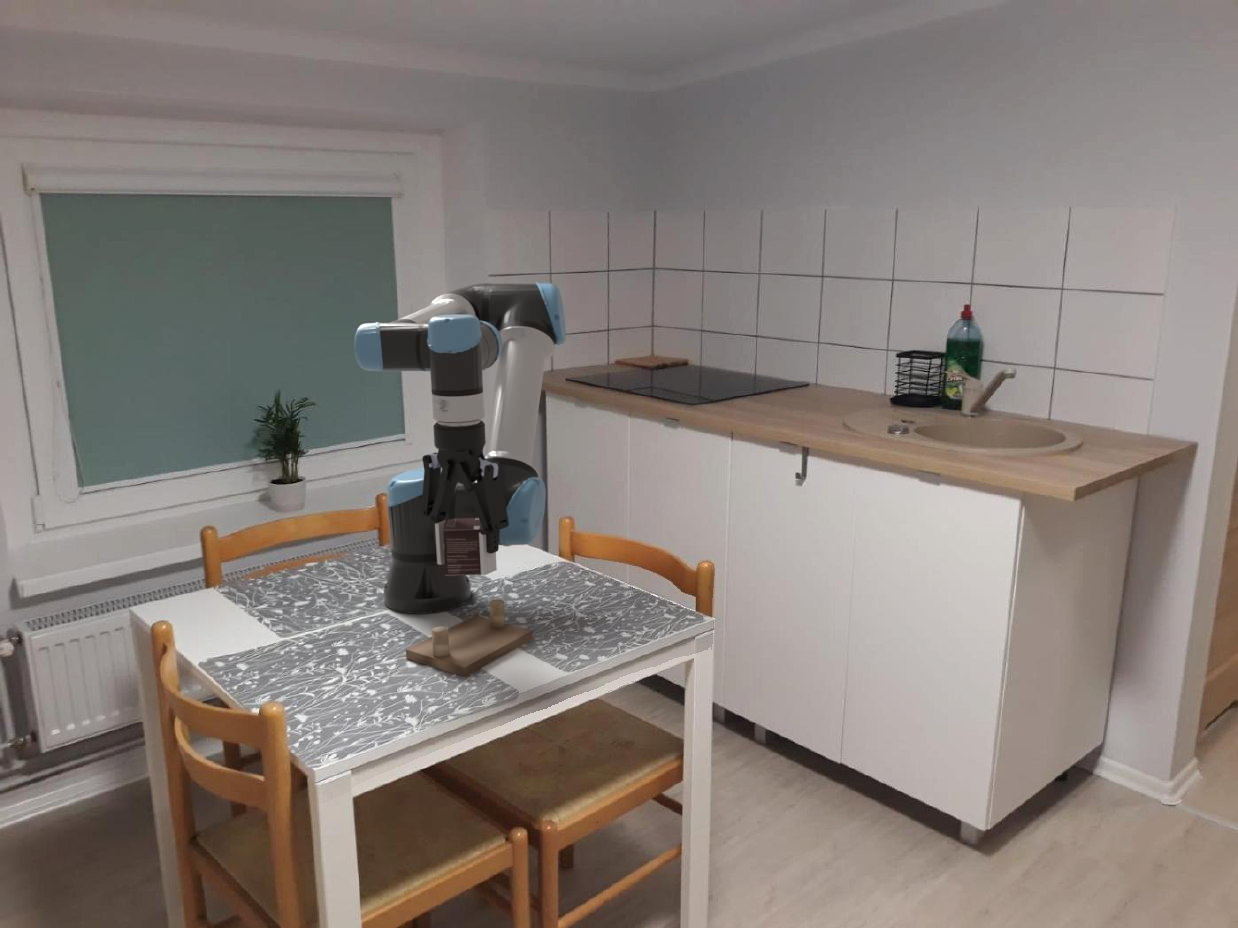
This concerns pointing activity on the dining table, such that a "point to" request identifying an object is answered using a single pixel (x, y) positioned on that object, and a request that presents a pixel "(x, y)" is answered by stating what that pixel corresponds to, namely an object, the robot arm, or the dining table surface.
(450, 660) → the rack board
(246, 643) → the dining table surface
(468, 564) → the box
